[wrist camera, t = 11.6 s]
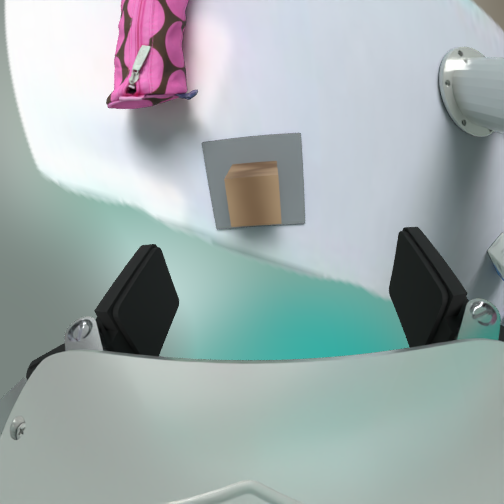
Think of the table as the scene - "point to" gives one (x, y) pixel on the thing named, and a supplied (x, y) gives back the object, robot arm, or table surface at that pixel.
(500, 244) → the ink box
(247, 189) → the walnut block
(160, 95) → the pencil case
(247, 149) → the felt pad
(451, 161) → the table surface
